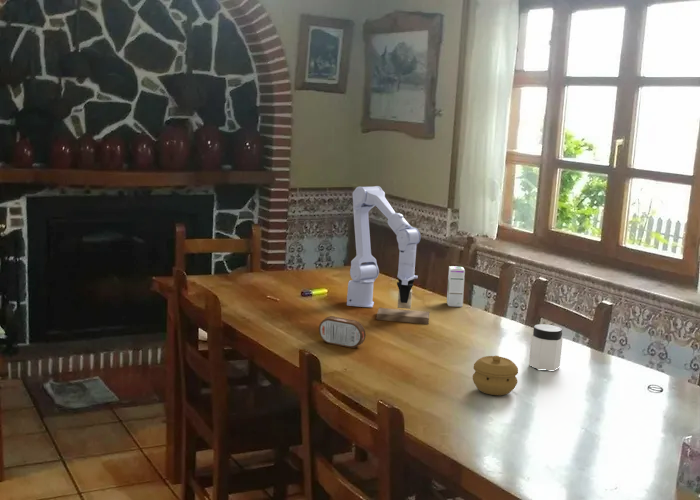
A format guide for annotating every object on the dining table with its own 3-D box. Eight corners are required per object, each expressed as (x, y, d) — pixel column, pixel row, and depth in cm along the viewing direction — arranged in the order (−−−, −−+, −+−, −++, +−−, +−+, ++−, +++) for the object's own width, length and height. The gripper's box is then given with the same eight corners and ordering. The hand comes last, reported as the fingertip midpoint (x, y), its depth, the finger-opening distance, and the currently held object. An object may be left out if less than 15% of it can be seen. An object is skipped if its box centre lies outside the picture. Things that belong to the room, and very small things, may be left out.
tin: (365, 348, 247) (366, 321, 246) (361, 350, 244) (362, 323, 243) (321, 339, 253) (322, 313, 252) (316, 342, 251) (318, 315, 249)
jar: (565, 370, 236) (569, 330, 234) (542, 373, 233) (547, 332, 230) (545, 361, 244) (549, 322, 242) (523, 363, 240) (527, 324, 238)
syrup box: (462, 307, 306) (465, 269, 303) (447, 306, 306) (450, 268, 303) (461, 303, 311) (464, 266, 309) (445, 302, 311) (448, 265, 309)
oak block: (397, 307, 281) (398, 291, 280) (398, 304, 286) (399, 288, 285) (410, 308, 281) (411, 292, 280) (411, 305, 285) (412, 289, 284)
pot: (469, 383, 220) (471, 348, 219) (512, 385, 220) (515, 350, 218) (474, 398, 209) (477, 361, 207) (519, 401, 209) (523, 364, 207)
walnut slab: (376, 319, 281) (376, 313, 280) (378, 313, 290) (379, 307, 289) (428, 324, 279) (428, 318, 278) (429, 317, 288) (429, 311, 287)
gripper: (417, 267, 273) (414, 306, 275) (419, 259, 287) (416, 297, 290) (396, 266, 274) (394, 305, 276) (399, 258, 288) (397, 295, 290)
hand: (404, 300), depth 283 cm, fingers closed on oak block, 4 cm apart
